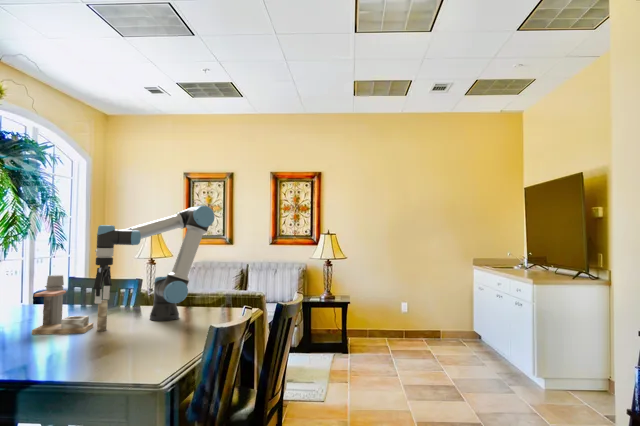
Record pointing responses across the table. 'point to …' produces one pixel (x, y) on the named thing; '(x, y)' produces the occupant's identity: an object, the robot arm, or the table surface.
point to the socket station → (68, 324)
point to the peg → (102, 316)
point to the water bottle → (55, 298)
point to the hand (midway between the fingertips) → (102, 301)
